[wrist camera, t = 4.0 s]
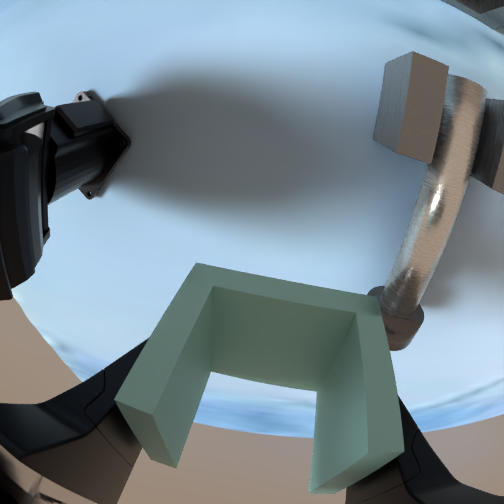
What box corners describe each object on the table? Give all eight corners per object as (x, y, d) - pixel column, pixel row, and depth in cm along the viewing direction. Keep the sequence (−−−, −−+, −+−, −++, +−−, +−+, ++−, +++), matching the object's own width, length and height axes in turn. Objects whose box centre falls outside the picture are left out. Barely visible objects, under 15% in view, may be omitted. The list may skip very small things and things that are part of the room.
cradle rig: (474, 174, 14) (513, 198, 10) (372, 139, 15) (395, 152, 11) (490, -11, 6) (524, -24, 2) (391, -58, 7) (409, -90, 3)
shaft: (404, 311, 20) (417, 353, 16) (354, 303, 20) (360, 347, 16) (475, 97, 11) (516, 102, 7) (417, 71, 12) (450, 64, 8)
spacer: (337, 375, 11) (333, 494, 7) (197, 348, 12) (150, 459, 7) (376, 297, 9) (404, 451, 4) (196, 262, 10) (114, 399, 5)
